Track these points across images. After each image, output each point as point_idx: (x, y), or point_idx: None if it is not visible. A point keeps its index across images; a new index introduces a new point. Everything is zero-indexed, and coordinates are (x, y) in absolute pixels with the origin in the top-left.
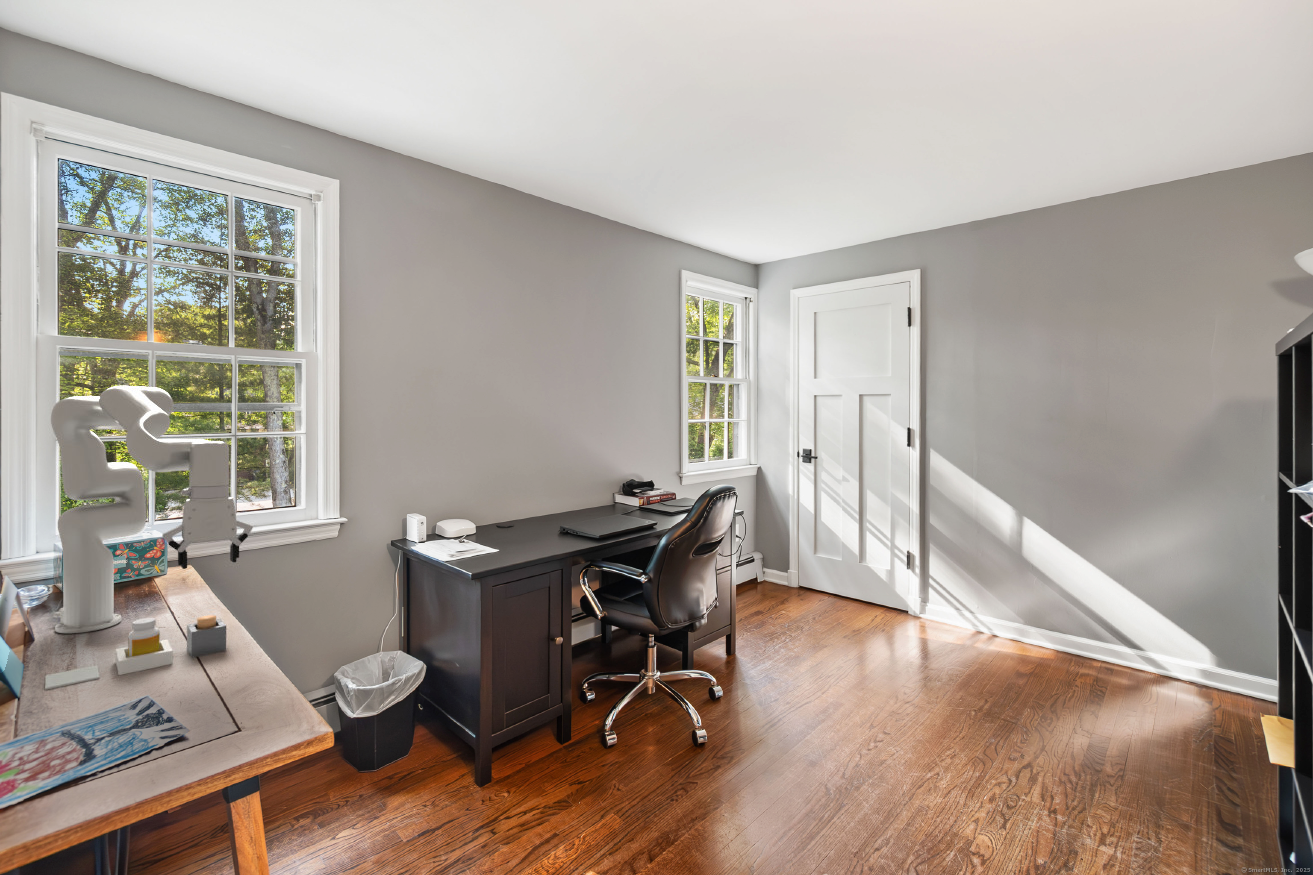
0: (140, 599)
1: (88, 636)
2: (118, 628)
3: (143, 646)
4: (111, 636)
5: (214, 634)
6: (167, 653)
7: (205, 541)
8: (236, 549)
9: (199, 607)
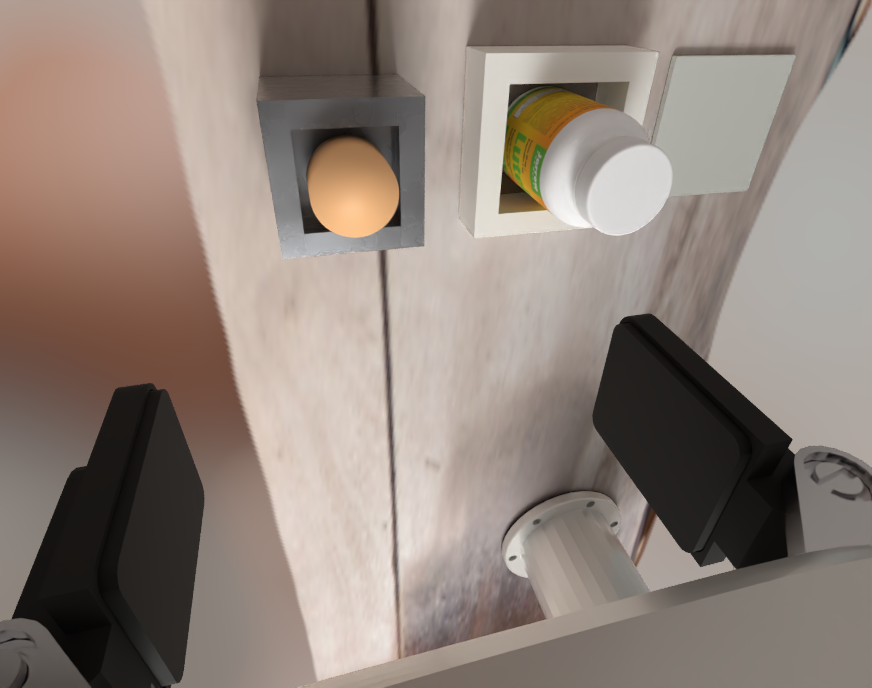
0: None
1: (579, 463)
2: (518, 493)
3: (591, 100)
4: (543, 443)
5: (315, 91)
6: (500, 52)
7: (666, 595)
8: (62, 537)
9: (330, 581)
